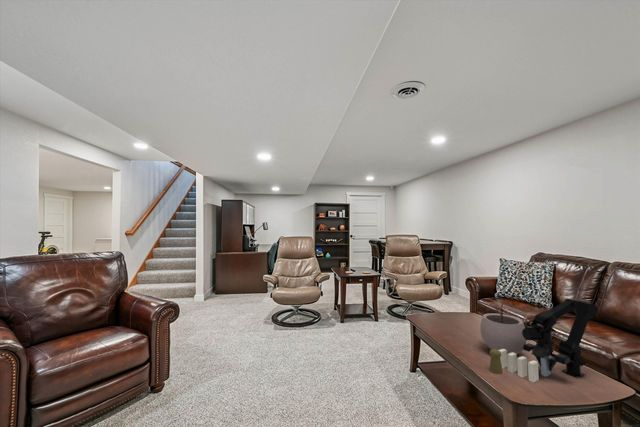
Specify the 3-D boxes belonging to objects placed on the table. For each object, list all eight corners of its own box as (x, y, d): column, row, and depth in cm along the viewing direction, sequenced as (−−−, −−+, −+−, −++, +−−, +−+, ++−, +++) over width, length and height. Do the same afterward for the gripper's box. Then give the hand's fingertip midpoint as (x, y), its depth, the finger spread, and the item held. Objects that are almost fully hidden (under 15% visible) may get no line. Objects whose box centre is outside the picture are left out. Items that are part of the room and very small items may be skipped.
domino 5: (546, 372, 146) (545, 355, 147) (550, 374, 144) (550, 356, 145) (541, 374, 144) (540, 357, 144) (545, 376, 142) (545, 358, 143)
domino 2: (513, 369, 150) (512, 352, 150) (517, 370, 148) (516, 353, 148) (507, 371, 147) (507, 354, 148) (511, 373, 146) (511, 355, 146)
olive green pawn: (497, 368, 151) (496, 347, 151) (505, 373, 145) (504, 352, 145) (486, 368, 151) (486, 347, 151) (494, 374, 145) (493, 352, 145)
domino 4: (534, 378, 141) (533, 360, 141) (538, 380, 139) (537, 361, 139) (528, 380, 139) (528, 362, 139) (533, 382, 137) (532, 364, 137)
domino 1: (503, 364, 154) (503, 348, 155) (507, 366, 152) (506, 350, 153) (498, 367, 152) (497, 350, 152) (502, 368, 150) (501, 351, 151)
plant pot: (481, 341, 186) (479, 296, 187) (524, 349, 173) (523, 301, 175) (480, 355, 165) (479, 305, 166) (530, 366, 153) (528, 311, 154)
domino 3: (523, 373, 145) (522, 356, 146) (527, 375, 143) (526, 357, 144) (517, 375, 143) (517, 358, 143) (522, 377, 141) (521, 359, 142)
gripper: (516, 335, 150) (517, 365, 149) (558, 349, 133) (560, 382, 132) (528, 332, 155) (529, 360, 154) (569, 345, 138) (571, 376, 137)
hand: (545, 369), depth 144 cm, fingers open, 4 cm apart
